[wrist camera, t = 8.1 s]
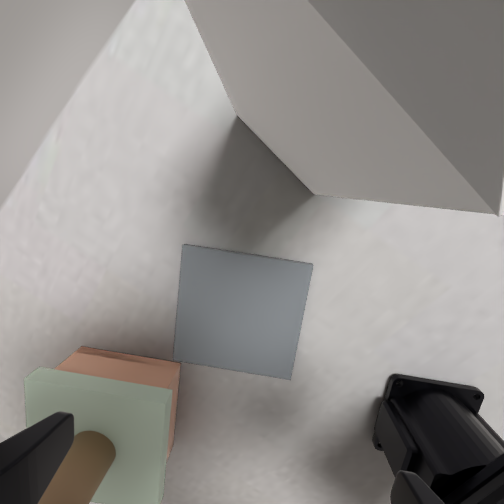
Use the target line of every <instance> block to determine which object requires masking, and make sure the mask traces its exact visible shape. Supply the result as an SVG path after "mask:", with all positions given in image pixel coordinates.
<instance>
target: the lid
mask: <svg viewBox="0 0 504 504" xmlns="http://www.w3.org/2000/svg"><path fill="white" fill-rule="evenodd" d="M172 391H173V390H172V389H166V388H160V387H154V386H148V385H143V384H137V383H131V382H125V381H119V380H113V379H108V378H102V377H96V376H90V375H84V374H79V373H73V372H67V371H61V370H55V369H50V368H44V367H39V368H37V369H36V370H35V371H33V372H32V373H31V374H29V375H28V376H27V377H26V378H24V393H25V410H26V427H27V428H28V427H30V426H32V425H34V424H36V423H37V422H39V421H41V420H43V419H45V418H46V417H48V416H50V415H52V414H54V413H56V412H59V411H62V412H68V413H72V414H73V415H74V441H73V444H72V446H71V448H70V450H69V451H68V453H67V455H66V456H65V458H64V460H63V462H62V463H61V465H60V467H59V468H58V470H57V472H56V474H55V475H54V477H53V479H52V480H51V482H50V484H49V485H48V487H47V489H46V491H45V492H44V494H43V496H42V497H41V499H40V501H39V503H38V504H89V502H95V503H101V504H160V503H161V501H162V498H163V494H164V483H165V471H166V460H167V448H168V437H169V425H170V414H171V402H172Z"/></svg>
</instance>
